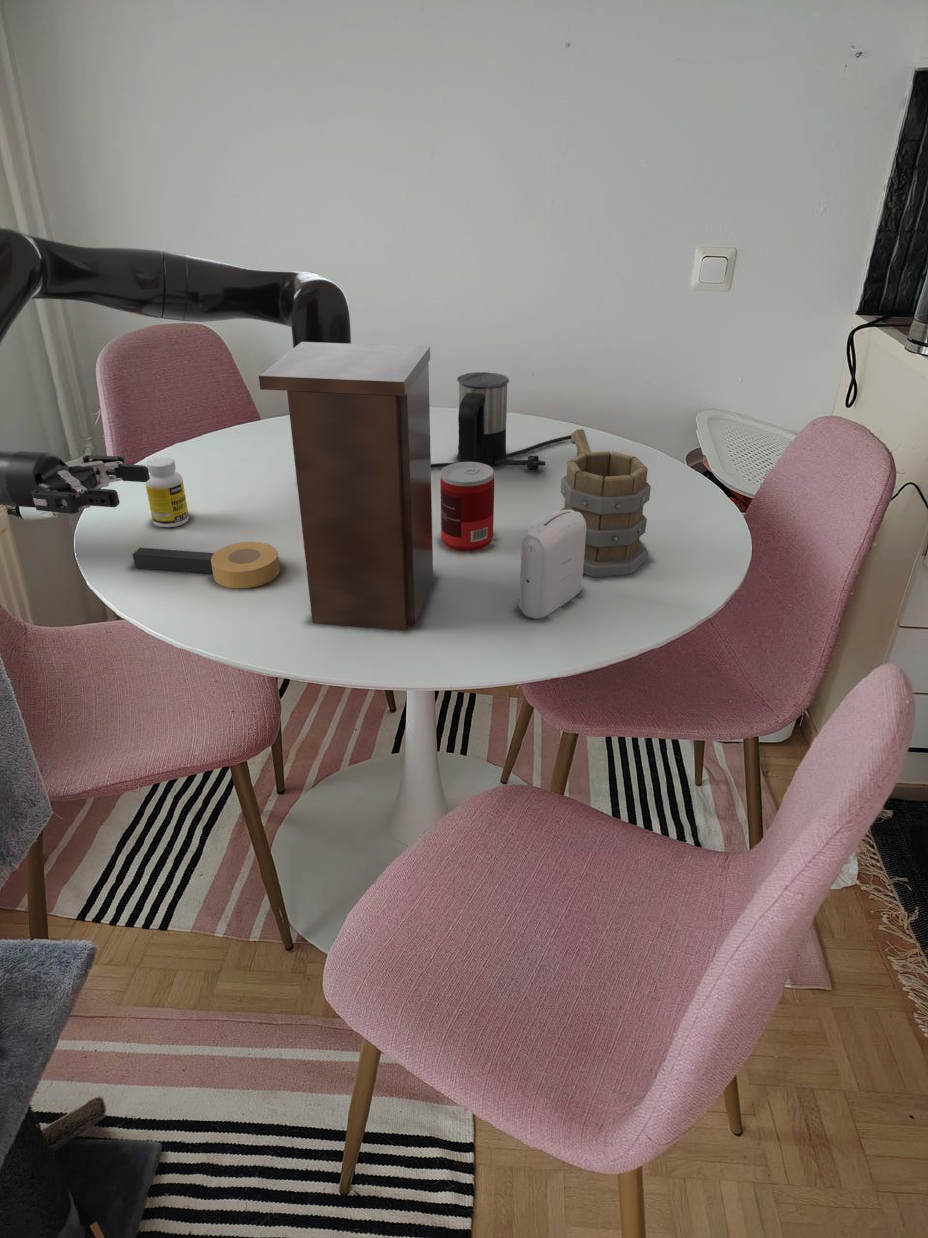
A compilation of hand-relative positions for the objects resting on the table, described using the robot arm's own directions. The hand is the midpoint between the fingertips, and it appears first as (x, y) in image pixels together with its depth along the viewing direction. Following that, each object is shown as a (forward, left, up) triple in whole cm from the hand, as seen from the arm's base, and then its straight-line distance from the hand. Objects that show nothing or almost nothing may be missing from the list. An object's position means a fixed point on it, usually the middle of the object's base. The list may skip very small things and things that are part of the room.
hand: (133, 485), depth 114 cm
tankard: (-55, +32, -12) cm, 65 cm away
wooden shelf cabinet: (-20, +26, -12) cm, 35 cm away
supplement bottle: (-8, -13, -12) cm, 19 cm away
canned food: (-41, +20, -12) cm, 47 cm away
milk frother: (-64, -1, -12) cm, 65 cm away
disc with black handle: (-6, +6, -12) cm, 15 cm away
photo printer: (-39, +41, -12) cm, 58 cm away
